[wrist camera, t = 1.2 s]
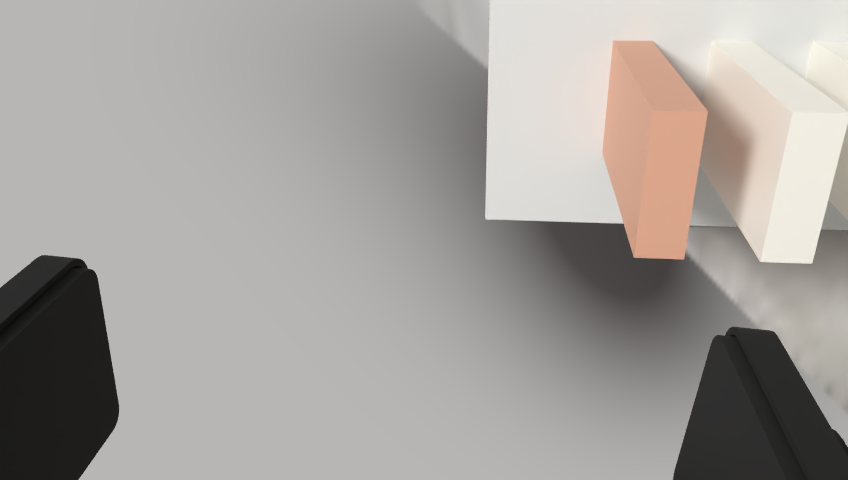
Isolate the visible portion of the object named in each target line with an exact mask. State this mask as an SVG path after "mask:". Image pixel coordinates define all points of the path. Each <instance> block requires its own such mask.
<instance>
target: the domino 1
mask: <svg viewBox="0 0 848 480" xmlns="http://www.w3.org/2000/svg"><path fill="white" fill-rule="evenodd" d="M707 114H708V111H707V109H706V108H705V107H704V106H703V104H702V103H701V102H700V100H699V99H698V98H697V97H696V95H695V94H694V93H693V92H692V90H691V89H690V88H689V87H688V85H687V84H686V83H685V82H684V80H683V79H682V78H681V77H680V75H679V74H678V73H677V71H676V70H675V69H674V68H673V66H672V65H671V64H670V63H669V61H668V60H667V59H666V58H665V56H664V55H663V54H662V53H661V51H660V50H659V49H658V47H657V46H656V45H655V44H654V42H653V41H613V46H612V57H611V67H610V77H609V88H608V98H607V108H606V119H605V129H604V139H603V150H602V154H603V157H604V160H605V164H606V167H607V170H608V174H609V177H610V180H611V183H612V187H613V190H614V193H615V197H616V200H617V203H618V206H619V210H620V213H621V216H622V220H623V223H624V226H625V229H626V233H627V236H628V239H629V242H630V246H631V249H632V252H633V256H634V257H635V258H662V259H684V256H685V250H686V244H687V238H688V232H689V225H690V219H691V213H692V207H693V201H694V195H695V188H696V182H697V176H698V170H699V164H700V158H701V151H702V145H703V139H704V133H705V127H706V121H707Z"/></svg>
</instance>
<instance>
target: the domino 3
mask: <svg viewBox="0 0 848 480" xmlns="http://www.w3.org/2000/svg"><path fill="white" fill-rule="evenodd" d="M804 80H806V81H807V82H808V83H810V84H811V85H812V86H814V87H815V88H817V89H818V90H819V91H821V92H822V93H823V94H825V95H826V96H828V97H829V98H830V99H832V100H833V101H834V102H836V103H837V104H838V105H840V106H841V107H843V108H844V109H845V110H847V111H848V41H813V43H812V47H811V52H810V56H809V61H808V66H807V70H806V75H805V79H804ZM828 200H829V201H830V202H831V203H832V204H833V205H834V206H835V207H836V208H837V209H838V211H839V212H840V213H841V214H842V215H843V216H844V217H845V218H846V219H847V220H848V124H847V128H846V132H845V136H844V140H843V144H842V148H841V152H840V156H839V160H838V164H837V168H836V172H835V176H834V180H833V184H832V188H831V191H830V195H829V199H828Z"/></svg>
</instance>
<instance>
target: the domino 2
mask: <svg viewBox="0 0 848 480" xmlns="http://www.w3.org/2000/svg"><path fill="white" fill-rule="evenodd" d="M702 104H703V106H704V107H705V108H706V109H707V111H708V114H707V121H706V127H705V133H704V139H703V145H702V151H701V158H700V166H701V167H702V169H703V171H704V172H705V174H706V175H707V177H708V179H709V180H710V182H711V183H712V185H713V187H714V188H715V190H716V191H717V193H718V195H719V196H720V198H721V199H722V201H723V203H724V204H725V206H726V208H727V209H728V211H729V212H730V214H731V216H732V217H733V219H734V220H735V222H736V224H737V225H738V227H739V228H740V230H741V232H742V233H743V235H744V236H745V238H746V240H747V241H748V243H749V245H750V246H751V248H752V249H753V251H754V253H755V254H756V256H757V257H758V259H759V261H760V262H776V263H805V264H812V262H813V259H814V255H815V251H816V247H817V243H818V239H819V235H820V231H821V227H822V223H823V219H824V215H825V211H826V207H827V203H828V199H829V195H830V191H831V188H832V184H833V180H834V176H835V172H836V168H837V164H838V160H839V156H840V152H841V148H842V144H843V140H844V136H845V132H846V128H847V124H848V111H847V110H845V109H844V108H843V107H841V106H840V105H838V104H837V103H836V102H834V101H833V100H832V99H830V98H829V97H828V96H826V95H825V94H823V93H822V92H821V91H819V90H818V89H817V88H815V87H814V86H812V85H811V84H810V83H808V82H807V81H806V80H804V79H803V78H802V77H800V76H799V75H797V74H796V73H795V72H793V71H792V70H791V69H789V68H788V67H786V66H785V65H784V64H782V63H781V62H780V61H778V60H777V59H776V58H774V57H773V56H771V55H770V54H769V53H767V52H766V51H765V50H763V49H762V48H761V47H759V46H758V45H756V44H755V43H754V42H752V41H711V47H710V54H709V60H708V66H707V73H706V79H705V86H704V92H703V98H702Z"/></svg>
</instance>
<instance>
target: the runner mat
mask: <svg viewBox="0 0 848 480" xmlns="http://www.w3.org/2000/svg"><path fill="white" fill-rule="evenodd" d="M613 41H653V42H654V44H655V45H656V46H657V47H658V49H659V50H660V51H661V53H662V54H663V55H664V56H665V58H666V59H667V60H668V61H669V63H670V64H671V65H672V66H673V68H674V69H675V70H676V71H677V73H678V74H679V75H680V77H681V78H682V79H683V80H684V82H685V83H686V84H687V85H688V87H689V88H690V89H691V90H692V92H693V93H694V94H695V95H696V97H697V98H698V99H699V100H700V102H701V103H702V98H703V92H704V86H705V79H706V73H707V66H708V60H709V54H710V47H711V41H752V42H754V43H755V44H756V45H758V46H759V47H761V48H762V49H763V50H765V51H766V52H767V53H769V54H770V55H771V56H773V57H774V58H776V59H777V60H778V61H780V62H781V63H782V64H784V65H785V66H786V67H788V68H789V69H791V70H792V71H793V72H795V73H796V74H797V75H799V76H800V77H802V78H803V79H805V75H806V70H807V66H808V61H809V56H810V52H811V47H812V43H813V41H848V0H490V23H489V70H488V119H487V167H486V214H485V218H486V219H490V220H523V221H556V222H590V223H591V222H592V223H622V224H624V223H623V220H622V216H621V213H620V210H619V206H618V203H617V200H616V197H615V193H614V190H613V187H612V183H611V180H610V177H609V174H608V170H607V167H606V164H605V160H604V157H603V154H602V150H603V139H604V129H605V119H606V108H607V98H608V88H609V77H610V67H611V57H612V46H613ZM689 226H721V227H738V225H737V224H736V222H735V220H734V219H733V217H732V216H731V214H730V212H729V211H728V209H727V208H726V206H725V204H724V203H723V201H722V199H721V198H720V196H719V195H718V193H717V191H716V190H715V188H714V187H713V185H712V183H711V182H710V180H709V179H708V177H707V175H706V174H705V172H704V171H703V169H702V167H701V166H700V164H699V170H698V176H697V182H696V188H695V195H694V201H693V207H692V213H691V219H690V225H689ZM821 230H848V220H847V219H846V218H845V217H844V216H843V215H842V214H841V213H840V212H839V211H838V209H837V208H836V207H835V206H834V205H833V204H832V203H831V202H830V201H829V200H828V203H827V207H826V211H825V215H824V219H823V223H822V227H821Z"/></svg>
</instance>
